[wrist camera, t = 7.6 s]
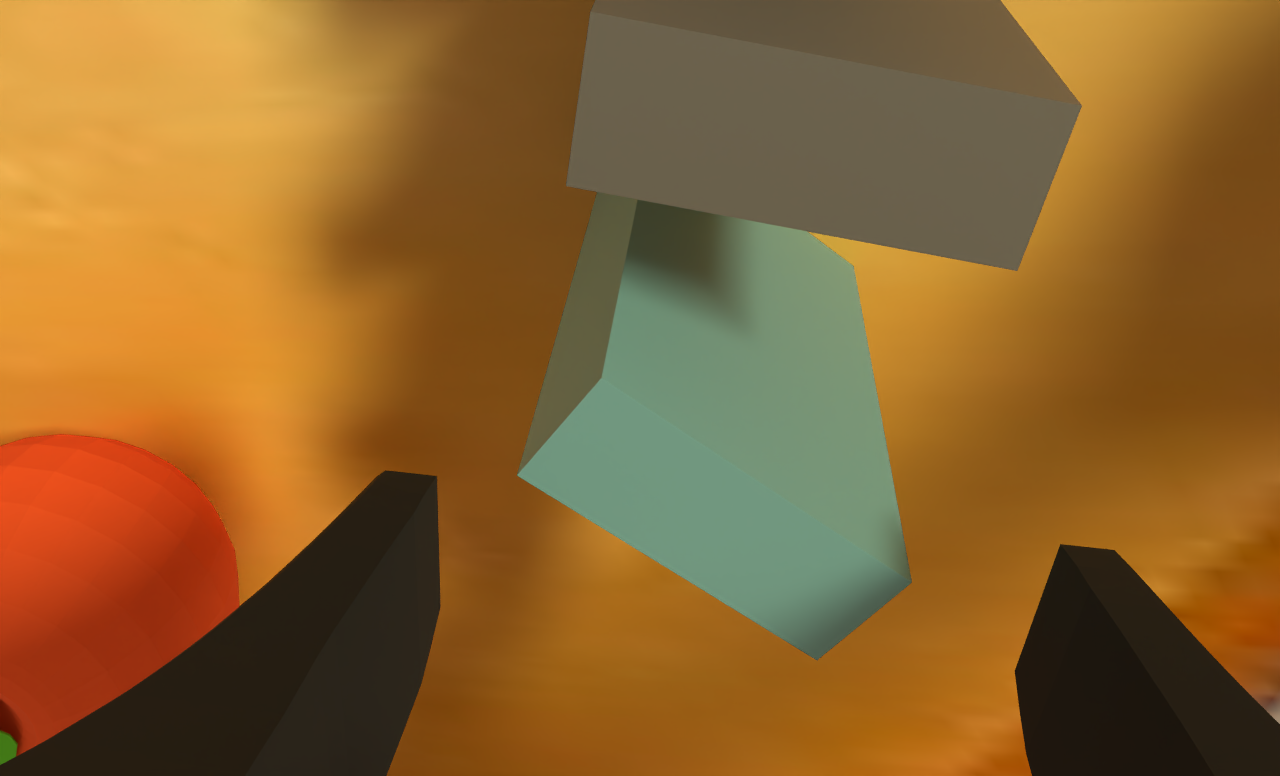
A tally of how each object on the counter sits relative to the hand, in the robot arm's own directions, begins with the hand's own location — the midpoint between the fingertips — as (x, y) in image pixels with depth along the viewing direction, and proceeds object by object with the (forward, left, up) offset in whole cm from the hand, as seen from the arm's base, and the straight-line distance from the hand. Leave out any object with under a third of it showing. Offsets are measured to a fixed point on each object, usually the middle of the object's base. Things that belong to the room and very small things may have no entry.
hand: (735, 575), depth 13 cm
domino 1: (0, -5, -10) cm, 11 cm away
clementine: (+12, +10, -10) cm, 19 cm away
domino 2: (0, 0, -10) cm, 10 cm away
